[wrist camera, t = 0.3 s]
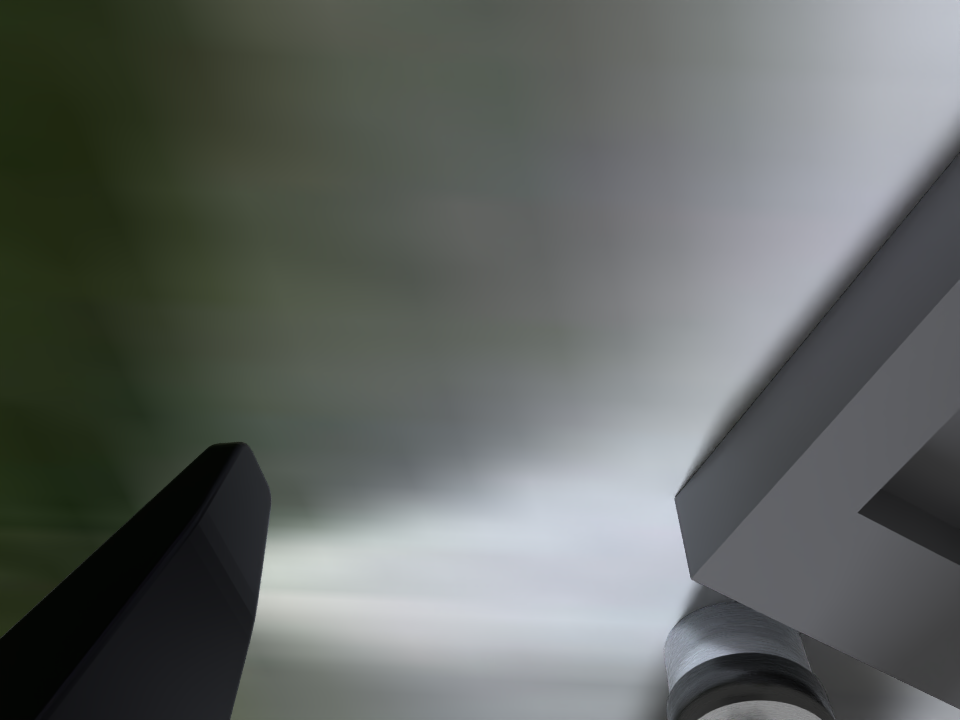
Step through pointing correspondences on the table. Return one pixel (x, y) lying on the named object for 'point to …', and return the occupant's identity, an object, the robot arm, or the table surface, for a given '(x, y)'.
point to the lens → (740, 669)
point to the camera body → (855, 468)
